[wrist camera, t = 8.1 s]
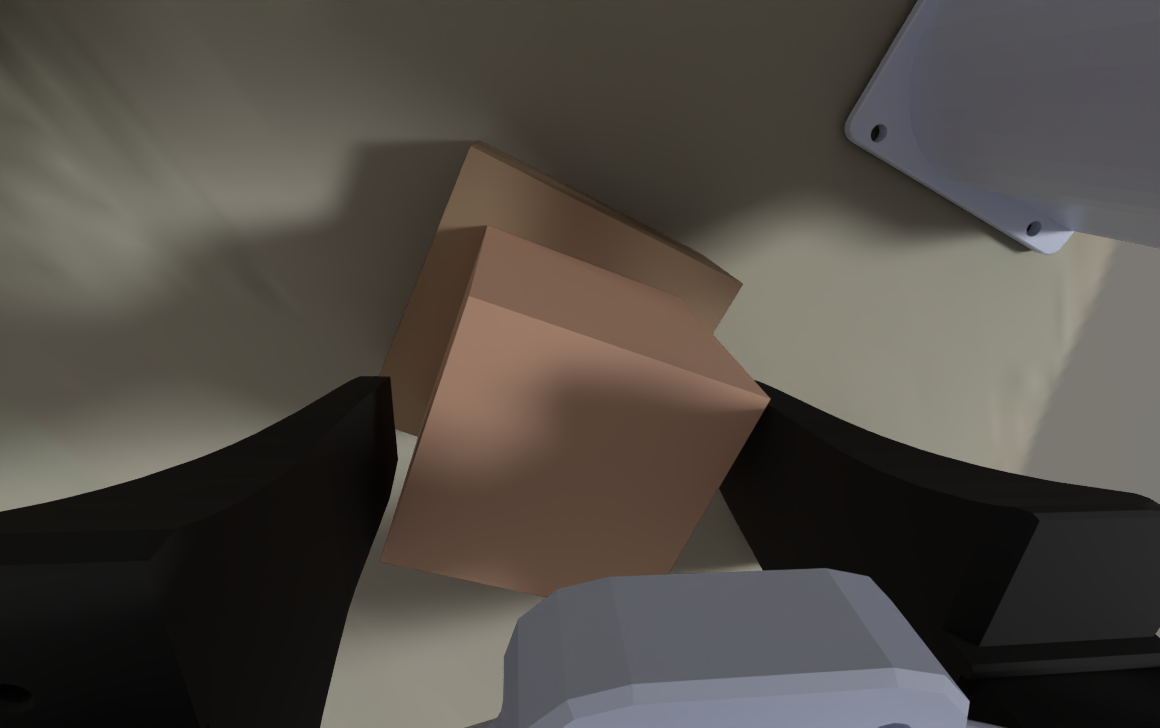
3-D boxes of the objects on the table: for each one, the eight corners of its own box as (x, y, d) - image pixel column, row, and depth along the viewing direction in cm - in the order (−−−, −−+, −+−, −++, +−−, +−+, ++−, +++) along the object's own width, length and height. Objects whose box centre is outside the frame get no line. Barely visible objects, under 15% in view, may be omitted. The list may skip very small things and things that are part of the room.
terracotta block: (679, 297, 15) (771, 399, 10) (602, 458, 17) (642, 618, 12) (487, 225, 14) (468, 296, 8) (426, 408, 16) (380, 561, 10)
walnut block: (699, 252, 19) (743, 284, 15) (593, 438, 22) (609, 503, 18) (479, 140, 17) (470, 146, 13) (391, 361, 19) (362, 417, 16)
